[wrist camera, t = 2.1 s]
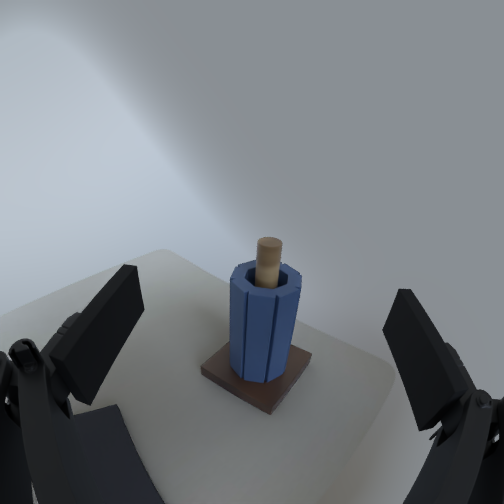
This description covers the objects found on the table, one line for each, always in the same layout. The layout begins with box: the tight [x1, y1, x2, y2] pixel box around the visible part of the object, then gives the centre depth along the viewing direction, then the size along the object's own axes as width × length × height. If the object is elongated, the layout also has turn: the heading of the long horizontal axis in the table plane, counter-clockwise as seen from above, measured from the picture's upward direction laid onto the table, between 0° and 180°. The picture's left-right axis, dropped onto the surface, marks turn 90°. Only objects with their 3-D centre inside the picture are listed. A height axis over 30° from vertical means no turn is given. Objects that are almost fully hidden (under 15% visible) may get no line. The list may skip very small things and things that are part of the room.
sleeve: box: [230, 260, 302, 383], centre depth 26 cm, size 6×6×11 cm
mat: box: [73, 404, 165, 504], centre depth 13 cm, size 14×12×1 cm
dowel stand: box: [201, 237, 312, 415], centre depth 25 cm, size 9×9×16 cm
